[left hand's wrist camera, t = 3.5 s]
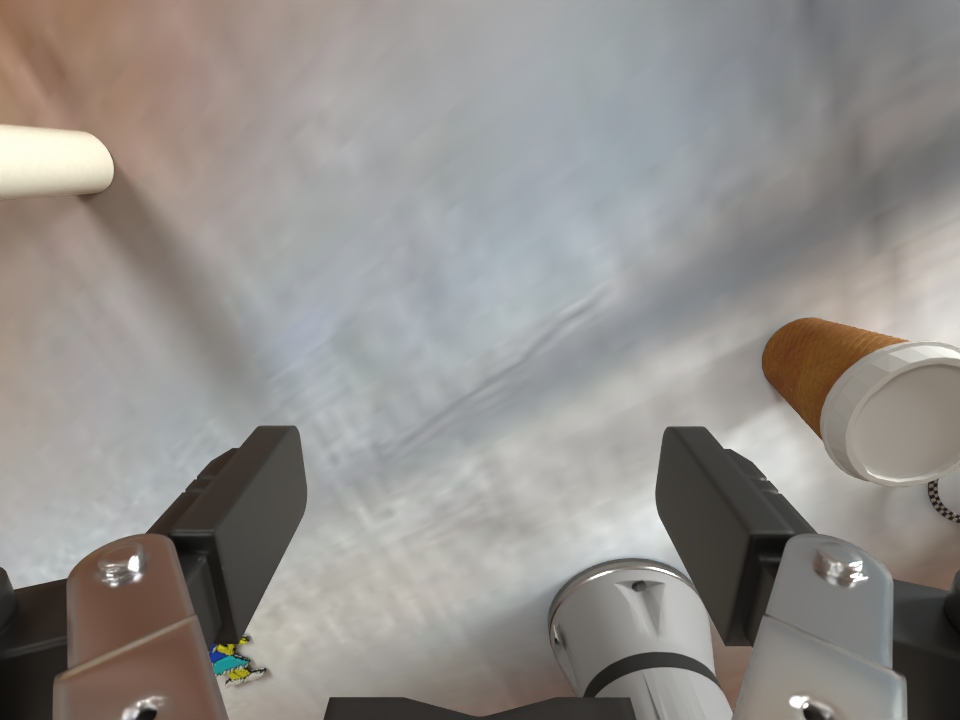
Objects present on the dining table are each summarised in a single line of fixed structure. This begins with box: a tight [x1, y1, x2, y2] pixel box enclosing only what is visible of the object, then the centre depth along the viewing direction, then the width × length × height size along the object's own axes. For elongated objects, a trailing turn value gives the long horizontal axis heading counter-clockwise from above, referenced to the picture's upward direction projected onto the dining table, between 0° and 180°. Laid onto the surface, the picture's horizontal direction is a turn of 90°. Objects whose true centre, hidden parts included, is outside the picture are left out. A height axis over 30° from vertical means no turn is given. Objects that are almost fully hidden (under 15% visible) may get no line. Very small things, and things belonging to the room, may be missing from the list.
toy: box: [208, 635, 266, 688], centre depth 52 cm, size 10×1×15 cm
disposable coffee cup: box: [762, 318, 960, 487], centre depth 36 cm, size 10×10×12 cm
